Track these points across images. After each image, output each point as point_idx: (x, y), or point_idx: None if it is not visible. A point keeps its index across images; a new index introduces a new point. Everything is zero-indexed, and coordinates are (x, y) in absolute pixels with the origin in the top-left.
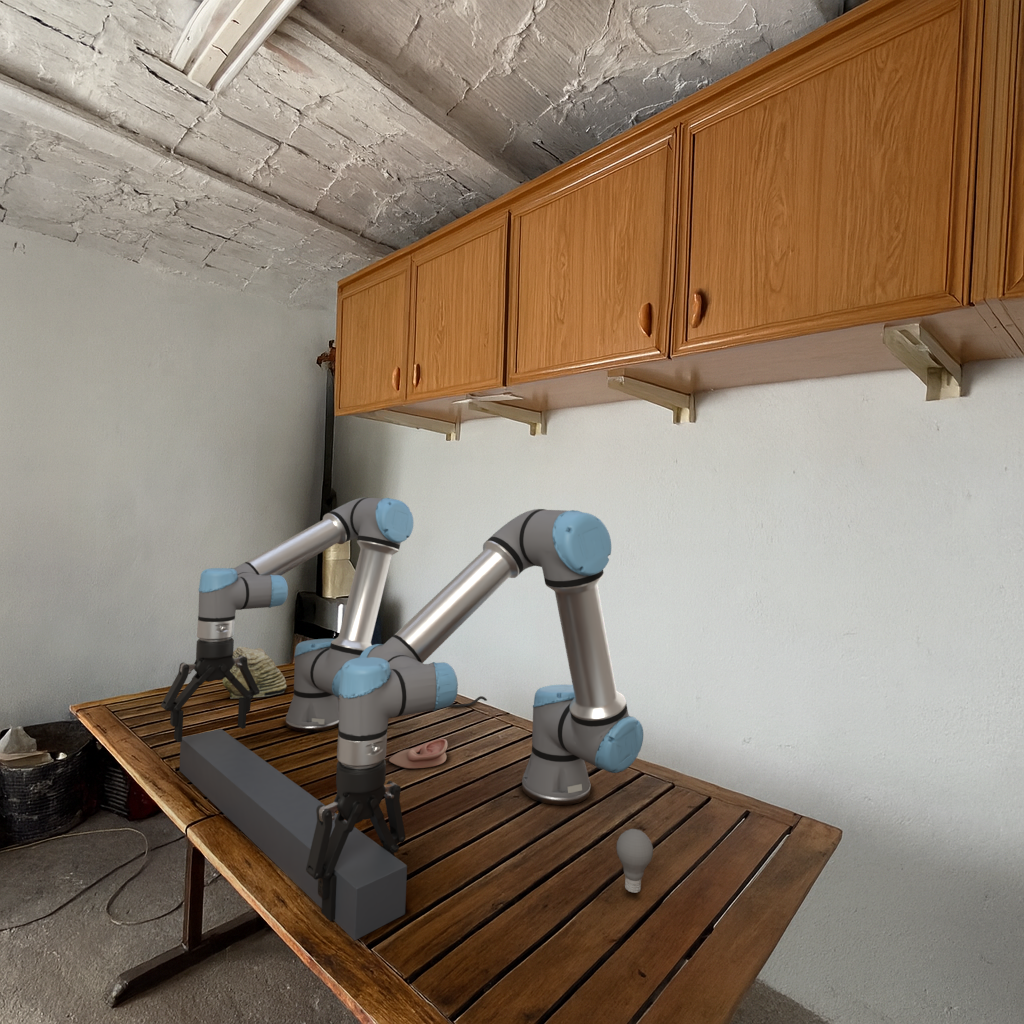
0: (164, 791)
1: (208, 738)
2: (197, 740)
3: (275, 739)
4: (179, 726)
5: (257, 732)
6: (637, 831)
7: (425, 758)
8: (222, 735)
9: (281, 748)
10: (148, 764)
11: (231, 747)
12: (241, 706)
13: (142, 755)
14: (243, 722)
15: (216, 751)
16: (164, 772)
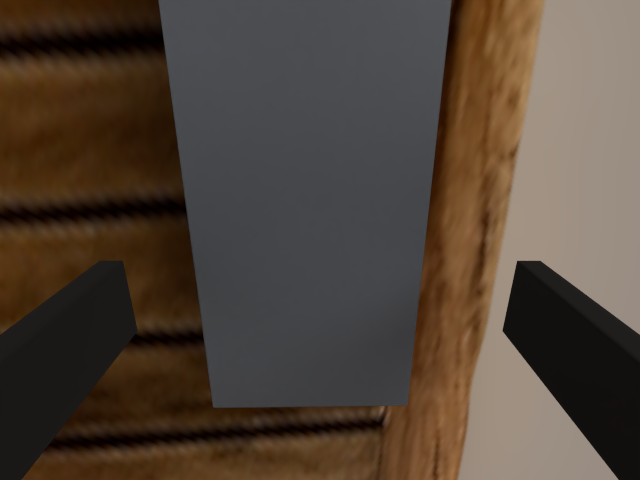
0: (486, 186)
1: (309, 324)
2: (363, 329)
3: None
4: (612, 319)
5: (67, 451)
6: None
7: None
8: (234, 322)
9: (12, 288)
10: (430, 407)
11: (249, 114)
12: (19, 399)
13: (416, 468)
14: (91, 280)
15: (346, 110)
16: (419, 329)
